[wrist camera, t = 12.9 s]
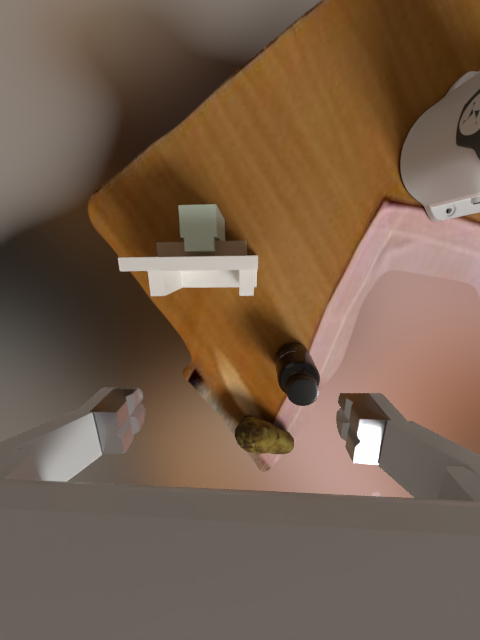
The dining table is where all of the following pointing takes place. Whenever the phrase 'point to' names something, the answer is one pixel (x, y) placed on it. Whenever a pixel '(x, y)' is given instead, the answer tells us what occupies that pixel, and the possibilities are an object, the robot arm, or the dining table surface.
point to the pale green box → (201, 227)
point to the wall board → (197, 267)
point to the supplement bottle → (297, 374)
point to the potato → (263, 437)
